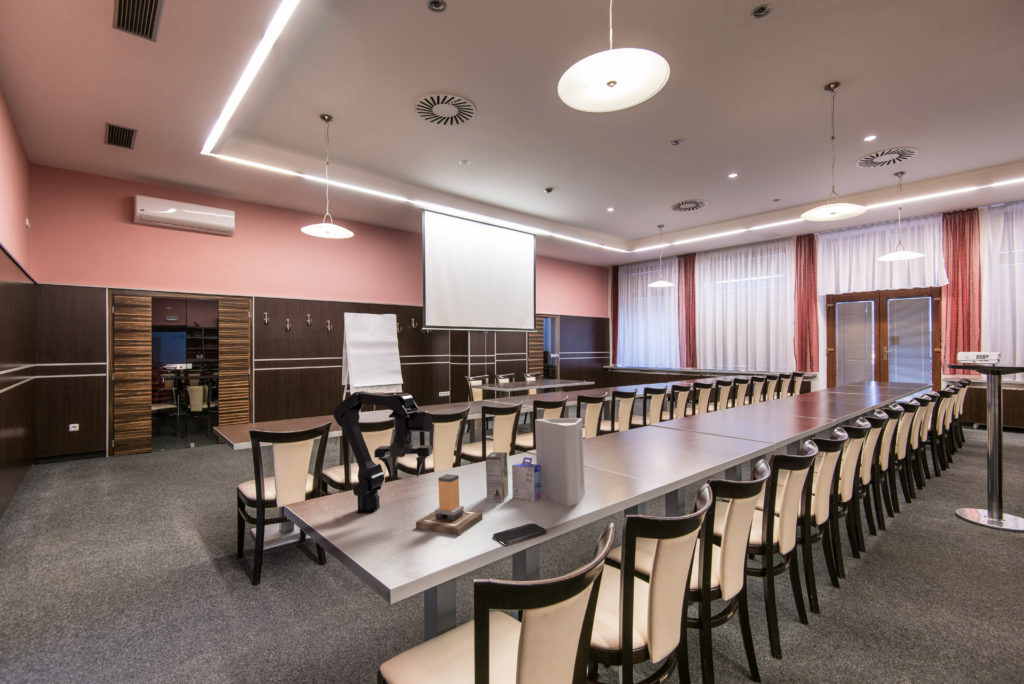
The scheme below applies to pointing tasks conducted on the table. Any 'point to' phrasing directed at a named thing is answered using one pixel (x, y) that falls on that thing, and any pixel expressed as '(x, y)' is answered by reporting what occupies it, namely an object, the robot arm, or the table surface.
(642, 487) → the table surface
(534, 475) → the ink cartridge box
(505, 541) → the phone
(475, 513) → the dock
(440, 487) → the grey-topped tan box
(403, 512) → the table surface
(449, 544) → the table surface
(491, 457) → the coffee box
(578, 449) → the white triangular vase
